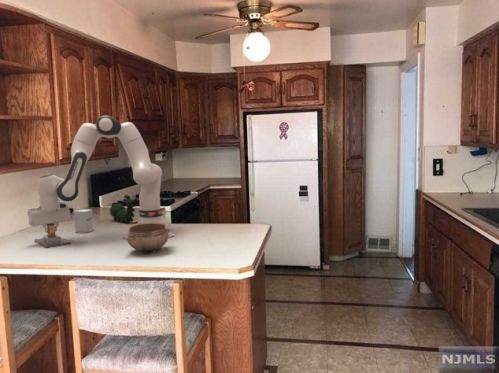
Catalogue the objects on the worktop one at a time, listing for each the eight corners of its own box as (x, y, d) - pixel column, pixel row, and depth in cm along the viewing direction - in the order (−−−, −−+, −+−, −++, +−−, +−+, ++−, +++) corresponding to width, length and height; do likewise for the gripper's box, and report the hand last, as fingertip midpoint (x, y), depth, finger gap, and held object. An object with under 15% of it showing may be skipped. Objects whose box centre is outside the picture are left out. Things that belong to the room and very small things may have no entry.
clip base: (70, 243, 221) (69, 237, 221) (45, 248, 213) (45, 241, 213) (58, 237, 236) (57, 231, 236) (34, 241, 228) (34, 235, 228)
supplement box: (86, 233, 245) (85, 211, 244) (75, 232, 247) (73, 211, 245) (93, 230, 252) (92, 209, 251) (82, 230, 254) (80, 209, 252)
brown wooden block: (55, 238, 224) (54, 223, 223) (50, 239, 222) (49, 224, 221) (52, 237, 227) (51, 222, 226) (47, 238, 226) (46, 223, 225)
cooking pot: (135, 260, 188) (133, 233, 186) (114, 252, 201) (113, 227, 200) (182, 249, 205) (180, 224, 203) (160, 242, 218) (159, 219, 217)
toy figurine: (138, 225, 272) (118, 217, 290) (138, 195, 269) (117, 189, 286) (125, 227, 265) (105, 219, 283) (124, 197, 262) (104, 190, 279)
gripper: (28, 209, 213) (31, 236, 215) (71, 204, 227) (73, 229, 228) (25, 207, 218) (28, 234, 220) (67, 202, 231) (69, 227, 233)
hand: (51, 231), depth 224 cm, fingers closed on brown wooden block, 2 cm apart
